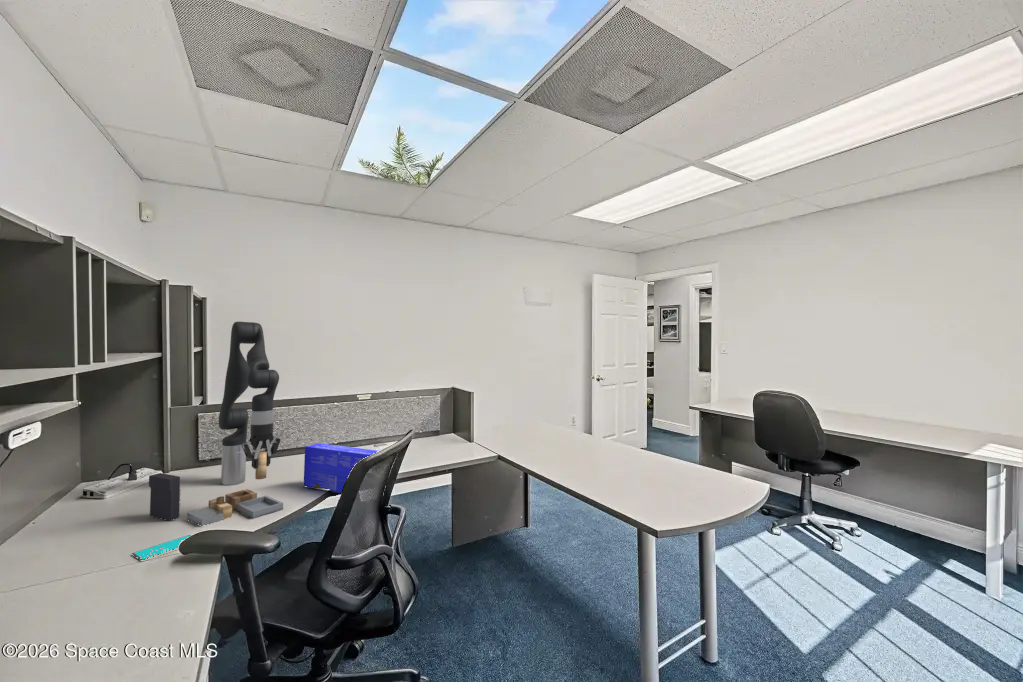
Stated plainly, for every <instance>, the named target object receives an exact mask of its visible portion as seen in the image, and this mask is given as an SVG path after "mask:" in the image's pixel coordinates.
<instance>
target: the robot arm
mask: <svg viewBox="0 0 1023 682" xmlns="http://www.w3.org/2000/svg"><path fill="white" fill-rule="evenodd" d="M229 344H230V345H229V347H230V348H229V357H228V362H227V368H226V373H225V374H226V375H225V381H224V388H223V389H224V390H223V397H222V402H221V406H220V410H219V415H218V427H219V429H220V430H223V431H227V430H236V431H235V432H233V433H231V434H229V435H226V436H224V438H222V441H221V472H220V473H221V475H220V477H221V478H220V484H221V485H225V486H234V485H237V484H242V483H244V482H245V481H246V474H247V473H246V469H247V467H246V466H247V458H248V459H251V468H253V469H254V470H256V469H257V468H258V459H257V457H258V453H259V452H260V451H261V450H262V451H267V467H269V466H270V464H271V458H272V455H274V454H276V453H277V451H278V448H279V445H280V443H281V440H282V439H281V438H280V437H275V436H274V435H273V433H274V421H275V420H274V399H275V394H276V390H277V388H278V385H279V381H280V375H279V373H278V371H277V370H275V369H270V363H269V359H268V357H267V354H266V346H265V336H264V329H263V327H262V325H261V324H260V323H259V322H254V321H252V322H250V321H235V322H233V324H232V326H231V331H230V343H229ZM241 344H245V345H246V344H250V345H253V346H251V348H250V349H249V350H248V352H247V353H246V359H245V357H244V355H243V354H242V351H241ZM249 387H250V388H251V389H255V390H256V389H266V390H265V391H264V392H262V393H259V394H256V395H253V396H252V399H251V414H250V432H249V434H250V438H249V440H248V439H247V437H248V426H249V425H248V424H249V423H248V422H249V412H248V409H247V408H246V407H233V405H234V404H235V402H236V401H237V400H238V399H239V397H241V396H242V394H244V393H245V391H246V390H247V389H248V388H249ZM247 440H248V441H247ZM271 444H272V445H271ZM250 447H252V448H251V449H250Z"/></svg>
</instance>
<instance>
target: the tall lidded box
mask: <svg viewBox="0 0 1023 682" xmlns="http://www.w3.org/2000/svg"><path fill="white" fill-rule="evenodd" d="M148 487H149V488H150V497H149V499H150V501H149V516H150V517H151V516H153V517H152V518H155V517H157V519H159V518H162V519H161V520H164V519H166V520H165V521H168V520H171V521H173V519H174V520H177V519H179V517H180V516H181V515H180V514H181V513H180V512H181V503H180V501H181V477H180V476H178V475H172V474H169V473H168V474H167V473H162V472H158V473H155V474H151V475H149V476H148ZM176 518H177V519H176Z"/></svg>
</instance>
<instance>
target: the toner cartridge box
mask: <svg viewBox="0 0 1023 682" xmlns="http://www.w3.org/2000/svg"><path fill="white" fill-rule="evenodd" d="M377 451H379V450H378V449H377V450H376V449H371V448H370V449H369V448H361V447H352V446H344V445H337V444H330V443H329V444H327V443H322V442H321V443H320V442H318V443H313V444H310V445H306V446H305V447H304V464H303V465H304V467H303V487H304V486H307V487H314V486H316V485H315V484H319V486H320V487H323V488H325V489H330V490H331V491H332V492H331V493H333V494H334V493H335V494H340V493H341V491H342V489H343V486H344V484H345V482H346V479H347V477H348V475H349V473H350V471H351V470H352V468H353V467H354V465H355V464H356V463H358V462H359V461H360V460H362V459H363V458H365V457H367V456H370V455H372V454H373V453H376V452H377Z"/></svg>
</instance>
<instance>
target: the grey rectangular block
mask: <svg viewBox="0 0 1023 682" xmlns="http://www.w3.org/2000/svg"><path fill="white" fill-rule="evenodd" d="M186 520H189V521H188V522H190V521H192V522H194V523H196V524H195V525H197V524H199V525H201V526H203V525H206V526H208V525H207V524H209V525H211V523H212V524H215V523H219V522H221V520H222V521H224V520H225V519H224V512H221V511H219V510H216V509H214V508H211V507H208V506H207V507H202V508H199V509H197V510H193V511H189V512H187V517H186ZM192 522H191V523H192ZM214 522H215V523H214ZM194 523H193V524H194ZM199 525H198V526H199ZM201 526H200V527H201ZM203 527H204V526H203Z"/></svg>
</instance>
